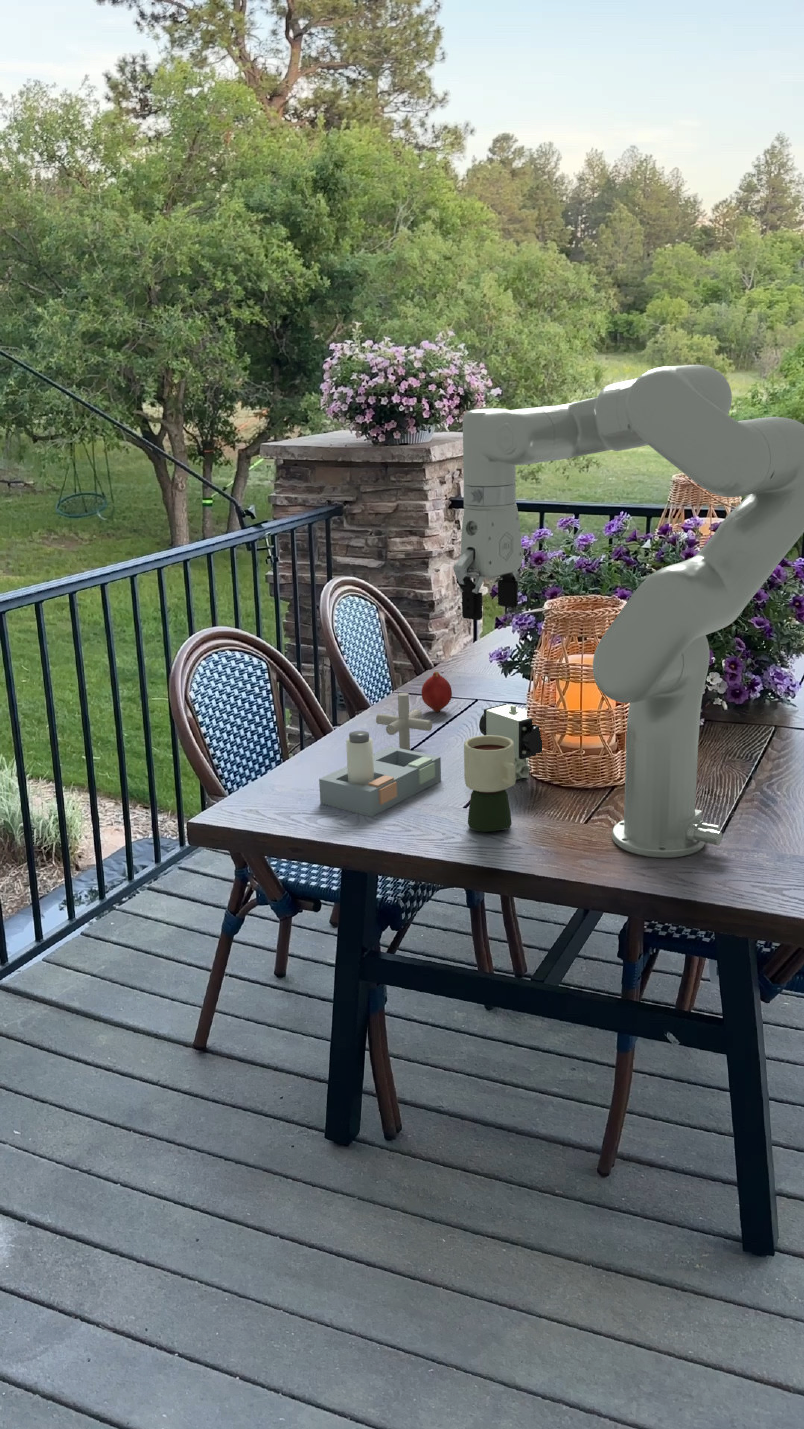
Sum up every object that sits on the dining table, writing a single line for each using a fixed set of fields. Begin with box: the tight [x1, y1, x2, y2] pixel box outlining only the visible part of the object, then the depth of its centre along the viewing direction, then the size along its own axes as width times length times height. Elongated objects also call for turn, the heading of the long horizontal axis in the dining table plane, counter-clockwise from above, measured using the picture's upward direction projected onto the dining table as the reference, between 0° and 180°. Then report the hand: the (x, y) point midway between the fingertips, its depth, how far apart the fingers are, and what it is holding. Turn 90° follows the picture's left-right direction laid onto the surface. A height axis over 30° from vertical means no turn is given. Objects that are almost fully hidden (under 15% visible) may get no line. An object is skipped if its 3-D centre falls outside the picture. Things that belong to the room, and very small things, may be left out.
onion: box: [421, 671, 453, 713], centre depth 221 cm, size 6×6×8 cm
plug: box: [345, 730, 374, 786], centre depth 177 cm, size 4×4×11 cm
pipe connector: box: [375, 692, 433, 751], centre depth 200 cm, size 10×10×10 cm
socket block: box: [318, 745, 442, 818], centre depth 182 cm, size 10×18×4 cm, turn 143°
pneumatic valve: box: [478, 703, 542, 782], centre depth 186 cm, size 6×12×12 cm, turn 37°
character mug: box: [463, 735, 516, 833], centre depth 166 cm, size 11×7×13 cm, turn 35°
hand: (490, 612), depth 174 cm, fingers open, 9 cm apart
